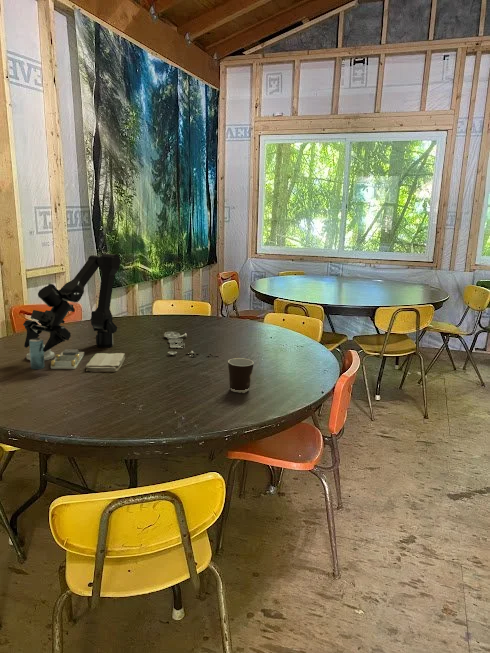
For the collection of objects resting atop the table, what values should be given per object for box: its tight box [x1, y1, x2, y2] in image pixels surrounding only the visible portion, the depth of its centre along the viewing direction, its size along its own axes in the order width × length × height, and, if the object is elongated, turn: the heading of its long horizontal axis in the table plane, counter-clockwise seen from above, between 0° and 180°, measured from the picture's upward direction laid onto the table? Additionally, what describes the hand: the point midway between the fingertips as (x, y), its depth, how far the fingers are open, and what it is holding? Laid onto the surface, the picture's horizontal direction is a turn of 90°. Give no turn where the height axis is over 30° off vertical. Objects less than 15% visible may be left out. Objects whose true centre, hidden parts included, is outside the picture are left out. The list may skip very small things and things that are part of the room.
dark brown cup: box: [227, 357, 255, 390], centre depth 156 cm, size 12×9×10 cm
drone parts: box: [163, 331, 194, 357], centre depth 205 cm, size 23×35×3 cm, turn 10°
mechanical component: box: [26, 344, 55, 361], centre depth 178 cm, size 10×4×10 cm
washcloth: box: [85, 352, 126, 373], centre depth 175 cm, size 12×18×3 cm, turn 6°
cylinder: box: [29, 337, 46, 370], centre depth 166 cm, size 5×5×10 cm
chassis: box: [50, 348, 85, 370], centre depth 175 cm, size 8×18×3 cm, turn 9°
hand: (34, 349), depth 165 cm, fingers open, 9 cm apart
